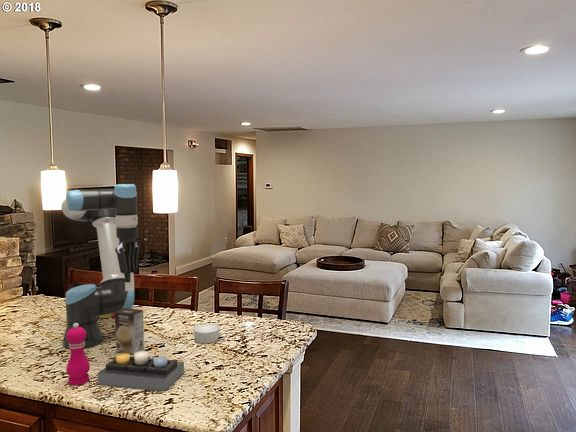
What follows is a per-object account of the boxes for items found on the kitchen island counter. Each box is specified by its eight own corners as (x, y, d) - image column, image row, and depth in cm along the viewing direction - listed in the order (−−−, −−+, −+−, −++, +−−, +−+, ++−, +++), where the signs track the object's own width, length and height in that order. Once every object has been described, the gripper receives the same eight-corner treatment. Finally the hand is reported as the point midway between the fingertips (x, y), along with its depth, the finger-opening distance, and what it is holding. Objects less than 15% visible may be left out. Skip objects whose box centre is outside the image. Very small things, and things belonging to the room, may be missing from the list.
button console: (98, 384, 153) (97, 368, 152) (122, 367, 166) (121, 352, 166) (164, 391, 147) (164, 374, 147) (184, 372, 161) (183, 357, 161)
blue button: (151, 380, 154) (151, 361, 153) (158, 374, 158) (157, 355, 157) (164, 381, 153) (163, 362, 152) (170, 375, 157) (169, 356, 156)
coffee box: (115, 352, 181) (113, 311, 179) (126, 346, 187) (124, 307, 185) (135, 354, 178) (133, 314, 176) (145, 348, 184) (143, 309, 182)
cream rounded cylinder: (132, 374, 155) (131, 355, 154) (139, 369, 159) (138, 350, 159) (144, 375, 154) (143, 356, 154) (151, 370, 158) (150, 351, 158)
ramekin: (214, 345, 187) (214, 332, 186) (188, 344, 189) (188, 331, 188) (224, 336, 198) (223, 324, 197) (199, 334, 200) (199, 322, 199)
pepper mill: (71, 377, 159) (68, 320, 157) (93, 376, 159) (90, 319, 158) (63, 386, 152) (60, 327, 150) (86, 385, 152) (83, 326, 150)
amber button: (114, 376, 157) (113, 357, 156) (121, 371, 161) (120, 352, 160) (125, 377, 156) (124, 358, 155) (133, 372, 160) (132, 353, 159)
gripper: (126, 228, 161) (129, 295, 164) (145, 224, 174) (148, 286, 176) (107, 228, 163) (110, 294, 165) (127, 224, 176) (130, 285, 178)
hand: (129, 290), depth 171 cm, fingers closed
